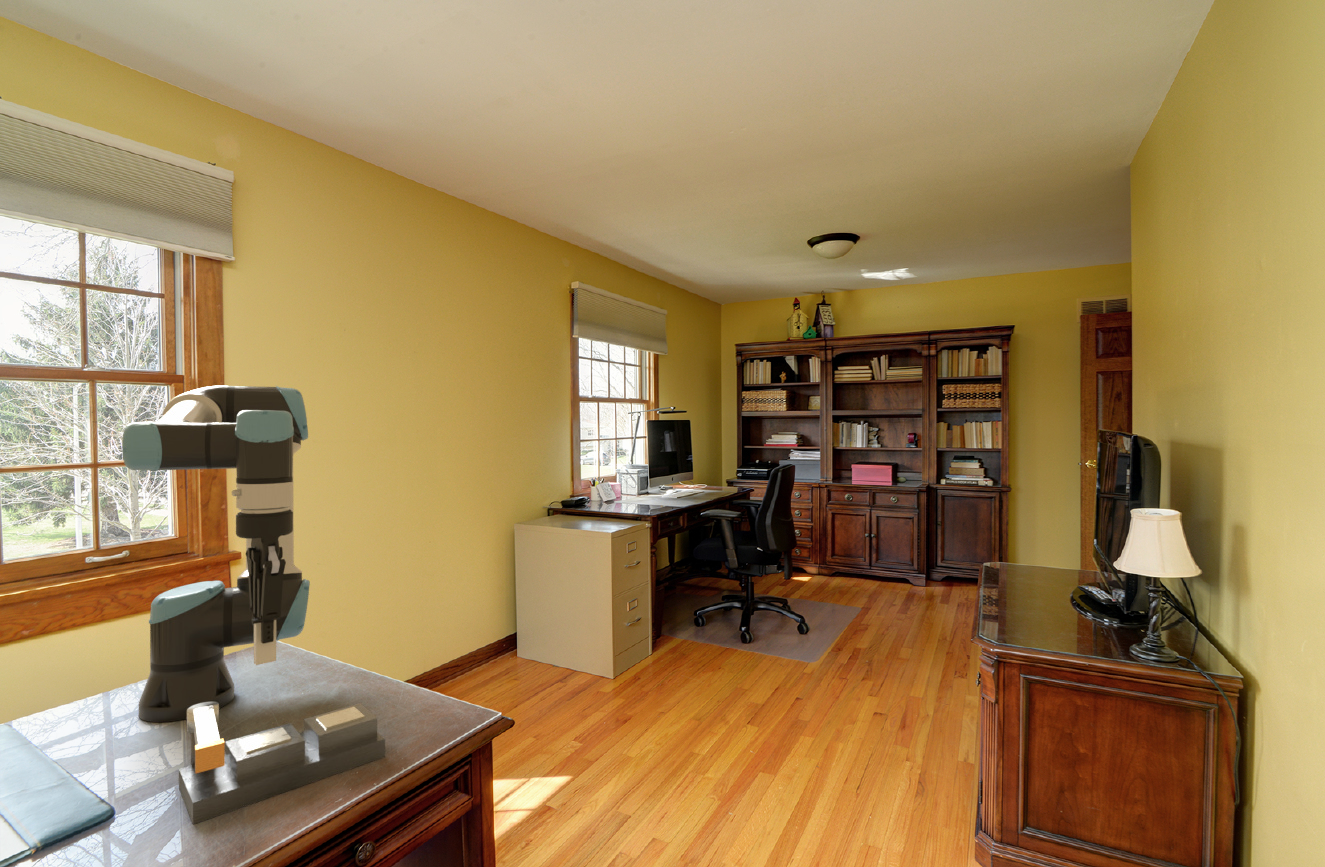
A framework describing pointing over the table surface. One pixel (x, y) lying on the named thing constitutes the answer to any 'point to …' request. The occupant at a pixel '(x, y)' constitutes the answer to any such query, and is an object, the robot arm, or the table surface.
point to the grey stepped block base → (281, 761)
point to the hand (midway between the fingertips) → (265, 661)
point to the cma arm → (206, 735)
